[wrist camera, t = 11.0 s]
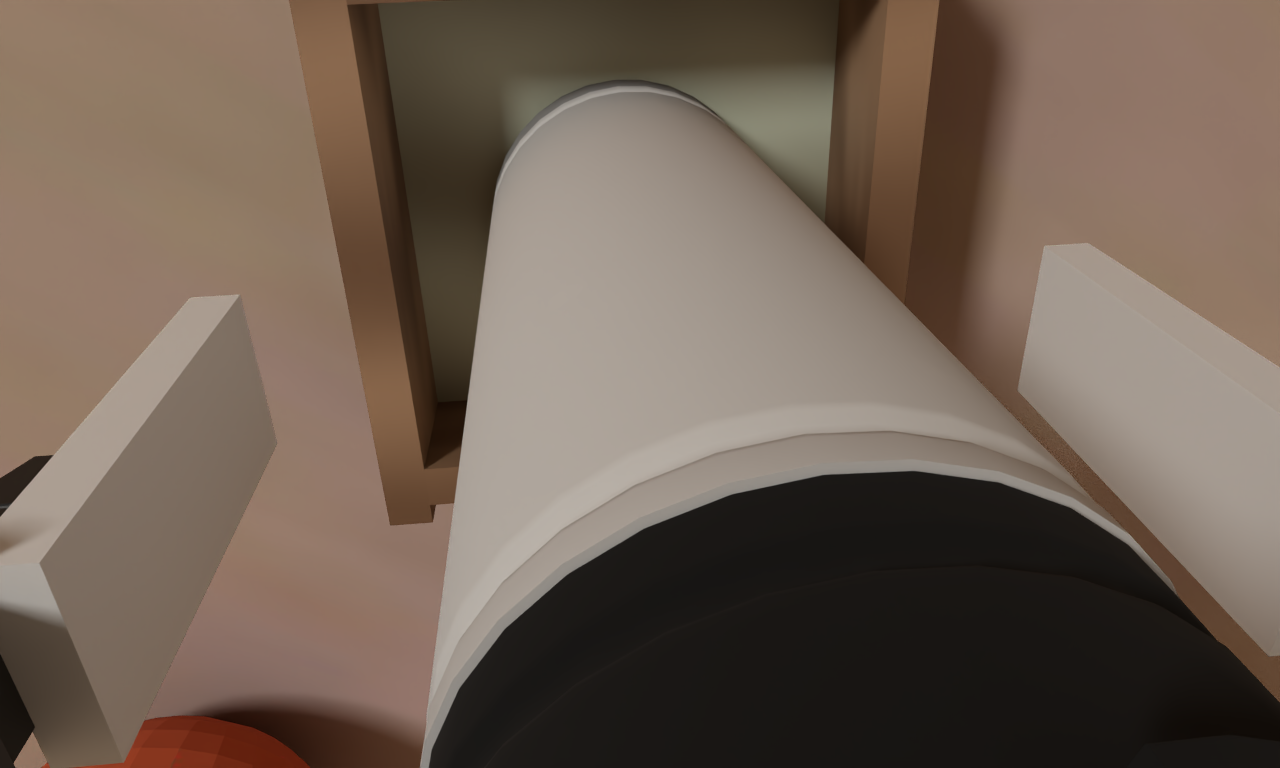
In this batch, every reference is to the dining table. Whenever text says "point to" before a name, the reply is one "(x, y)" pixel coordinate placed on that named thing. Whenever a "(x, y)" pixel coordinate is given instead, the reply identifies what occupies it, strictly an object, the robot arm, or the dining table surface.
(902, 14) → the walnut caddy
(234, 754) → the tomato
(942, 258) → the dining table surface
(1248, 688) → the travel mug
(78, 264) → the dining table surface
